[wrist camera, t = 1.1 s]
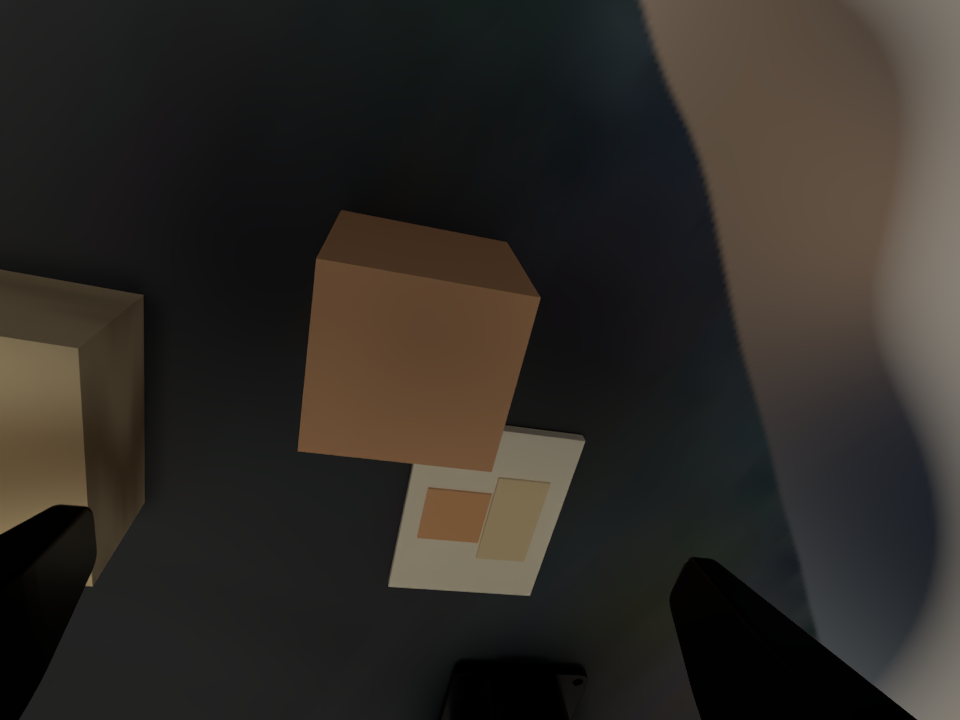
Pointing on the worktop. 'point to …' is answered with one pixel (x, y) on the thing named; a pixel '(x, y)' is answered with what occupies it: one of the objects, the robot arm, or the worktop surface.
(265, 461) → the worktop surface
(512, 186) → the worktop surface
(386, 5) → the worktop surface
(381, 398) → the terracotta cube
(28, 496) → the maple base block
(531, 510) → the card
